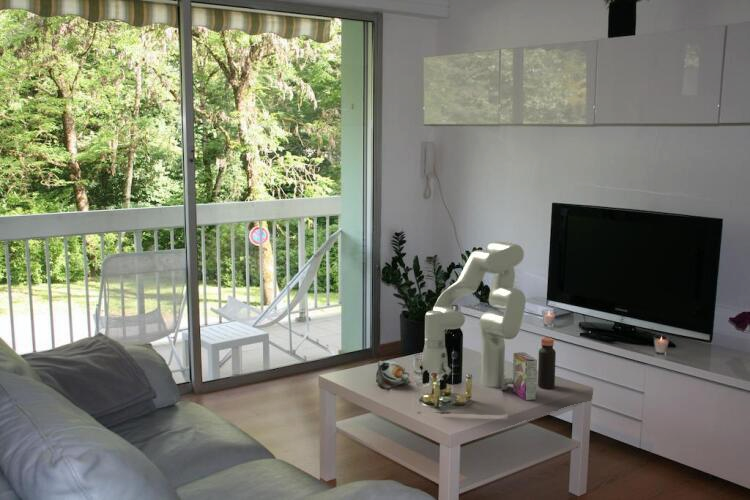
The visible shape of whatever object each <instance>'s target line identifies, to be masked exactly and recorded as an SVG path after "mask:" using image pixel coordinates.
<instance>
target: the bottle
mask: <svg viewBox="0 0 750 500" xmlns="http://www.w3.org/2000/svg"><path fill="white" fill-rule="evenodd" d="M554 343H555V340H554V338H552V337H542V338H541V342H540V344H541V348H540V349H539V350H538V360H537V361H538V362H537V365H538V368H537V386H538V388H541V389H545V390H551V389H554V388H555V384H556V356H557V355H556V353H557V352H556V350H555V349H554Z"/></svg>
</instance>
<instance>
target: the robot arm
mask: <svg viewBox="0 0 750 500" xmlns="http://www.w3.org/2000/svg"><path fill="white" fill-rule="evenodd" d="M485 248H486V250H483V249H475V250H474V251H472V252H471V254H470V255H469V256H468V258H467V260H466V263H465V265H464V267H463V269H462V270H461V272H460V274H459V276H458V278H457V279H456V281H455V282H454V283H452V284H450V286H448V287H447V288H446V289H445V290H444V291H443V292H441V294H440V295H439V296H438V298H437V300H436V302H435V303H434V306H433V308H432V310H427V312H426V313H425V315H424V347H423V350H422V359H419V360H418V361H417V362H418V365H419V369H420V372H421V375H422V378H421V379H422V382H421V383H422V384H423V385H425V384H428V383H430V373H436V374H437V375H438V376H439V378H440V379H439V382H440V385H439V389H440V390H443V389H446V388H447V386H448V384H447V383H448V382H447V380H448V379H449V377H450V375H451V374H452V373H451V372H452V369H451V368H450V367H449V363H448V362H449V361H448V360H449V359H448V352H447V347H446V342H445V330H456V329H457V330H458V329H460V328H462V326H464V324H465V322H466V317H465V314H464V313H463V312H462V311H460V310H459V311H458V309H456V310H457V311H454V310H453V309H454V308H452V306H451V305H453V304H454V303H455V302H456V301H457V300H458V299H460V298H463V297H466V296H469V295H471V294H474V293H475V292H477V290H478V288H479V286H480V285H481V282H482V280H483V279H484V276H485V274H492V275H493V277H492V281H491V282H492V283H491V286H490V291H489V295H488V303H489V304H490V306H491V307H493V308H495V309H499V310H502V311H504V313H503V312H500V311H496V310H494V311H493V310H487V311H485V312H483V313H482V314H481V316H480V318H479V323H478V325H479V331H480V335H481V336H480V338H481V354H480V357H481V358H480V361H481V362H480V368H481V369H480V385H482V386H484V387H487V388H500V389H501V392H504V391H507V389H508V388H509V385H513V377H512V378H507V377H506V374H505V371H506V370H505V369H506V368H505V367H506V364H505V363H506V361H505V360H506V343H505V339H506V340H513V339H515V338H516V337H517V336H518V334H519V332H520V330H521V326H522V322H523V317H524V314H525V309H526V301H527V300H526V295H525V293H524V292H523V291H522V290H521V289H518V288H515V287H514V283H515V278H516V272H515V268H514V267H517V266H519V264H520V263H521V262H522V261H523V259H524V257H525V252H524V251H525V250H524V249H523V247H522V246H521V245H519V244H517V243H512V242H511V243H510V242H506V241H497V240H496V241H495V240H494V241H491V242H489V243H488V244H487V246H486V247H485ZM451 308H452V309H451Z"/></svg>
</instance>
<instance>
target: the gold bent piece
mask: <svg viewBox="0 0 750 500" xmlns="http://www.w3.org/2000/svg"><path fill="white" fill-rule="evenodd" d="M465 378H466V380H465V381H466V382H465V383H466V384H465V385H466V391H465V393H463V394H462V393H461V394H460V393H459V394H460V395H456V396H455V404H456V405H466V404H467V398H470V399H472V390H473V389H472V381H473V374H469V373H468V374H466V375H465Z"/></svg>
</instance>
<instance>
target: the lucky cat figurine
mask: <svg viewBox="0 0 750 500" xmlns="http://www.w3.org/2000/svg"><path fill="white" fill-rule="evenodd" d="M375 377H376V378H375V379H376V380H375V382H376V383H377V385H378V387H380V388H383V389H385V390H386V389H387V390H389V389H391V387H396V386H402V385H406V384H408V383H410V373H409V372H408V371H406V368H405V367H404V366H403V365H402V364H400V363H399V362H397V361H394V360H386V361H385V362H383V360H379V361H378V363H377V371H376V376H375Z"/></svg>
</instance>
